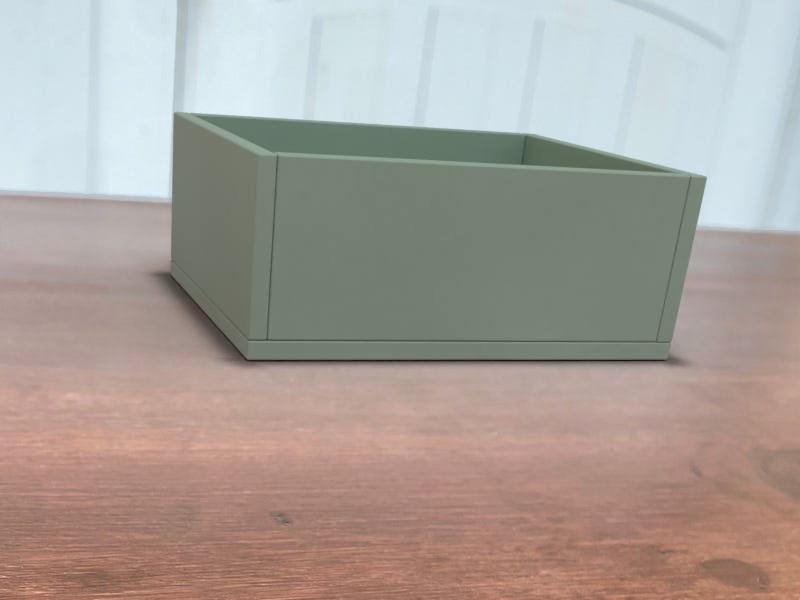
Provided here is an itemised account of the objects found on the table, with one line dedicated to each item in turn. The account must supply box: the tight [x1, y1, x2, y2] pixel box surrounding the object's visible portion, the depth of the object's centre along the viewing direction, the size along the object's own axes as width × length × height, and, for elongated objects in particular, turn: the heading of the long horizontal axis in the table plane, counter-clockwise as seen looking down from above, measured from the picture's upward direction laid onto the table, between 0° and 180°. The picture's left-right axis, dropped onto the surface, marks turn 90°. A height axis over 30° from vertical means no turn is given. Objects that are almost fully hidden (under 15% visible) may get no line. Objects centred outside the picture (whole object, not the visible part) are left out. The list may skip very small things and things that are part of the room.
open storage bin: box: [170, 111, 708, 361], centre depth 56 cm, size 20×17×8 cm
